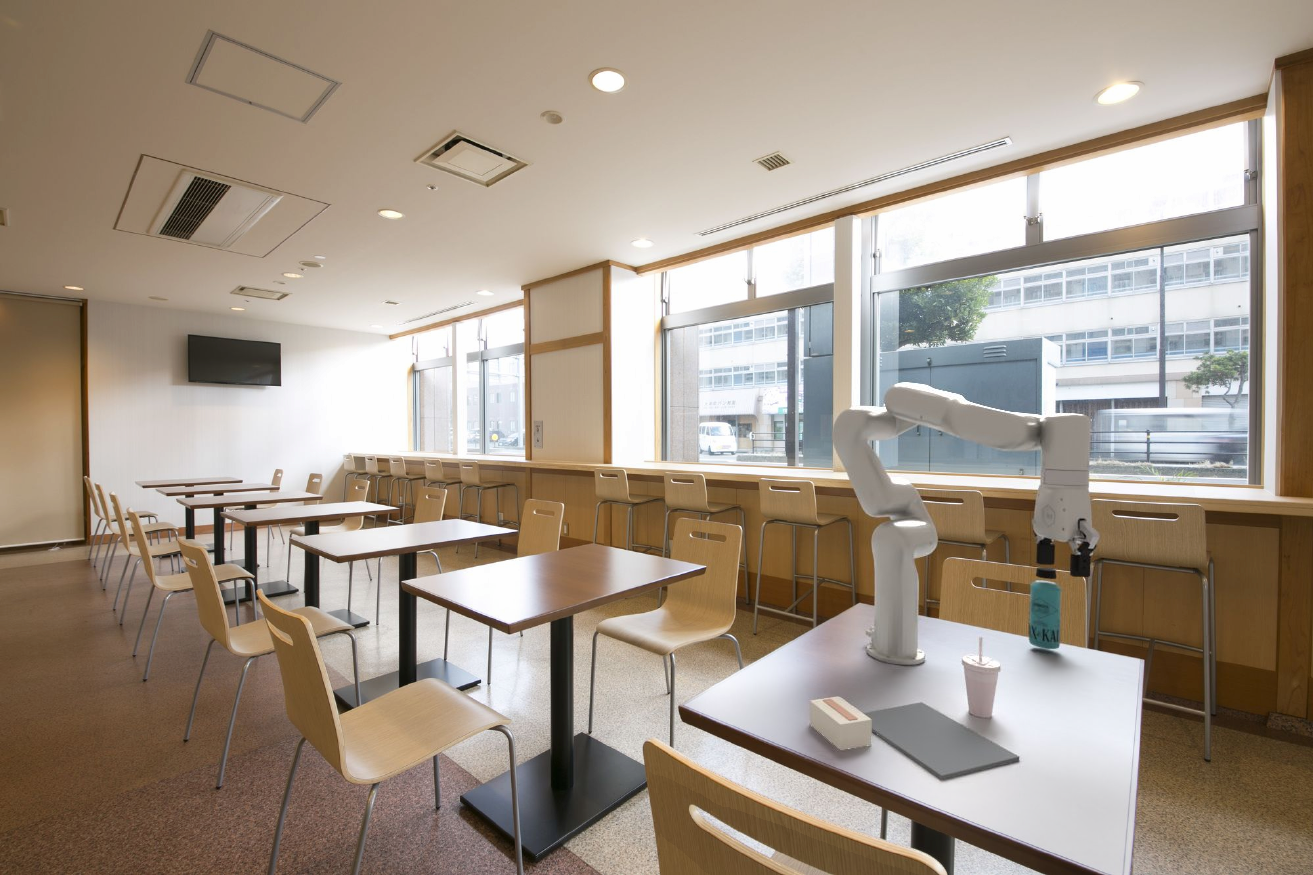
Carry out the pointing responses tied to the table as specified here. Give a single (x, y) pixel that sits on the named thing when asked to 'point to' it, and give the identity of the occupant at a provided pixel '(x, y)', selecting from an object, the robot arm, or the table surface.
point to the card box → (840, 722)
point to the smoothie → (980, 682)
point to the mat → (937, 740)
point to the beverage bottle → (1045, 611)
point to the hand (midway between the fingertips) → (1061, 570)
